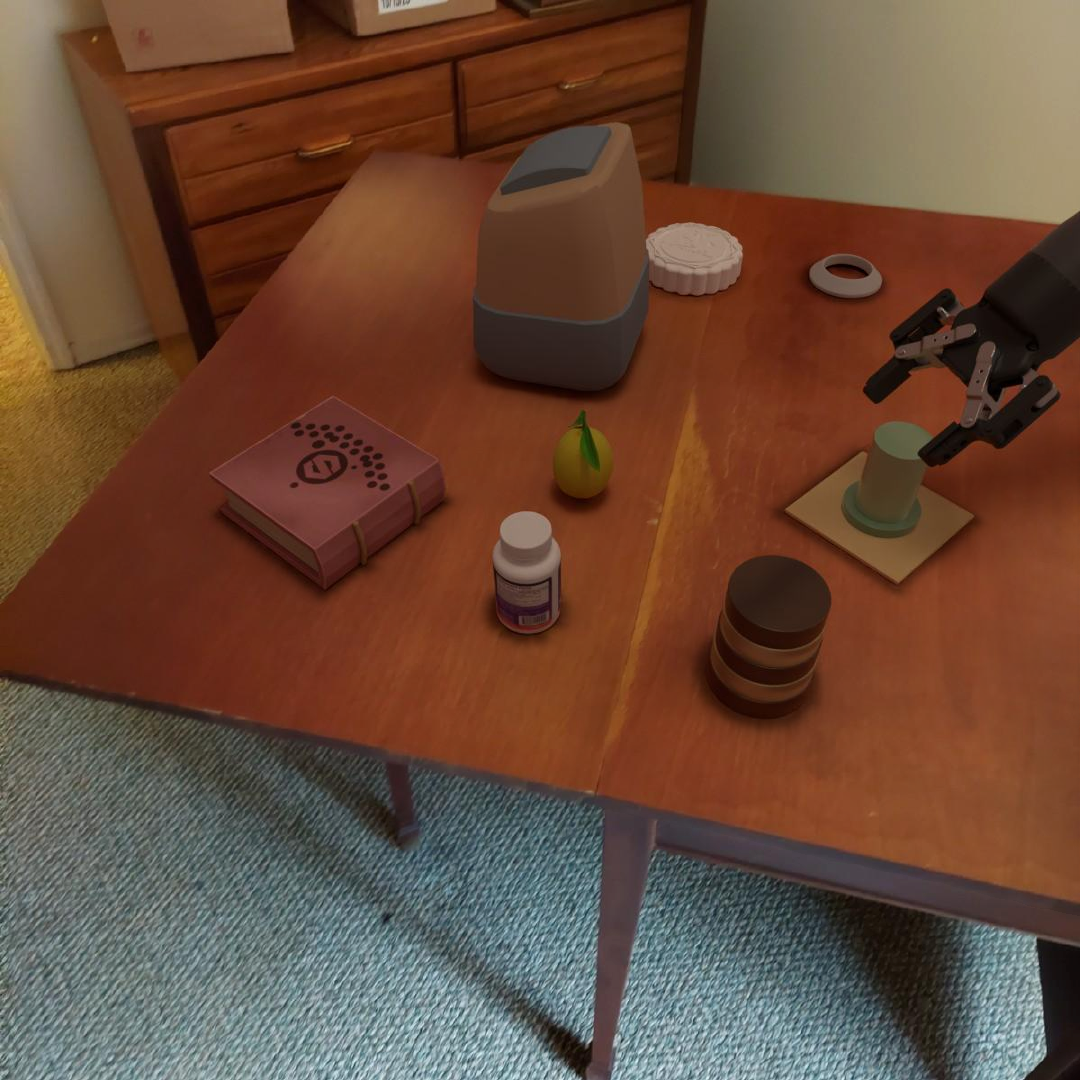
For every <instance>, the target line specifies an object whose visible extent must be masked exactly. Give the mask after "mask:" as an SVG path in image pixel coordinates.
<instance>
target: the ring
mask: <svg viewBox="0 0 1080 1080" xmlns="http://www.w3.org/2000/svg"><path fill="white" fill-rule="evenodd" d="M834 265H850V266H854V267H857V268H859V269H861V270H863V271H864V272H866V274H868V275H867V276H865V277H861V278H846V277H840V276H837V275H835V274H832V273H831V272H830V271H828V270H827V269H826V268H828V267H830V266H834ZM808 274H809V275H808V277H809V280H810V282H811V284H812V285H813V286H814V287H815V288H816V289H817V290H819V291H821V292H823V293H825V294H827V295H829V296H833V297H838V298H844V299H862V298H865V297H866V298H867V297H870V296H873V295H874V294H876V293H877V292H878V291H879V290H880V289H881V287H882V283H883V277H882V275H881V273H880V272H879V270H878V269H876V267H875V266H874V265H873V263H871V262H870V261H869V260H867V259H866V258H864V257H861V256H858V255H855V254H851V253H850V254H849V253H836V254H832V255H829V256H827V257H825V258H823V259H821V260H819V261H817V262H815V263H814V264H813V265H812V266H811V267H810V269H809V273H808Z"/></svg>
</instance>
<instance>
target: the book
mask: <svg viewBox="0 0 1080 1080" xmlns="http://www.w3.org/2000/svg"><path fill="white" fill-rule="evenodd" d="M208 475H209V477H210V480H212V481H213V482H214V483H216V484H217V485H219V486H220V487H221V488H223V489H224V492H225V495H226V497H227V500H228V501H227V503H225V504H224V505H222V506H221V507H220V509H221V512H222V514H223V515H225V516H226V517H227V518H229V519H230V520H231V521H233V522H234V523H236V524H237V525H238V526H240V527H241V528H242V529H244V530H245V531H246V532H248V533H249V534H250V535H252V536H253V537H254V538H256V539H257V540H258V541H260V542H261V543H262V544H263V545H265V546H266V547H268V548H269V549H270V550H272V551H273V552H275V554H277V555H278V556H280V557H281V558H283V559H284V560H285V561H286V562H287V563H289V564H290V565H292V566H293V567H295V568H296V569H297V570H299V572H301V573H303V574H304V575H305V576H306V577H308V578H309V579H310V580H312V581H313V582H314V583H316V584H317V585H319V586H320V587H321V588H322V589H324V590H327V589H328V588H329V587H330V586H333V584H335V583H336V582H337V581H338V580H340V579H341V578H343V577H344V576H346V575H347V574H348V573H349V572H351V571H352V570H353V569H354V568H356V567H358V565H362V566H366V564H368V558H369V557H371V556H372V555H373V554H374V553H375V552H377V551H378V550H380V549H381V548H383V547H384V546H385V545H386V544H388V543H389V542H390V541H391V540H393V539H395V537H397V536H398V535H400V534H401V533H402V532H404V531H405V530H406V529H407V528H409V527H410V526H412V525H413V524H414V525H416V526H418V525H419V524H420V522H421V518H422V517H424V516H425V515H427V514H428V513H429V512H430V511H431V510H433V509H434V508H436V507H437V506H438V505H440V503H442V502H444V500H445V495H446V490H447V488H446V478H445V473H444V470H443V467H442V464H441V461H440V459H439V458H437V457H436V456H434V455H433V454H431V453H429V452H427V451H425V450H424V449H422V448H421V447H419V446H418V445H415V444H414V443H412V442H411V441H409V440H408V439H406V438H404V437H403V436H401V435H400V434H397V433H396V432H394V431H393V430H391V429H389V428H388V427H386V426H384V425H383V424H381V423H380V422H378V421H376V420H374V419H373V418H371V417H370V416H367V415H366V414H365V413H363V412H361V411H360V410H359V409H356V408H354V407H353V406H352V405H350V404H348V403H346V402H344V400H342V399H339V398H338V397H336V396H335V395H332V396H330V397H329V398H327V399H325V400H323V401H322V402H321V403H318V404H317V405H315V406H314V407H312V408H311V409H309V410H308V411H306V412H304V413H302V414H301V415H299V416H297V417H296V418H294V419H293V420H291V421H289V422H288V423H286V424H284V425H283V426H282V427H280V428H278V429H277V430H275V431H274V432H272V433H271V434H269V435H267V436H265V437H264V438H262V439H261V440H259V441H258V442H255V443H254V444H253V445H251V446H250V447H248V448H246V449H245V450H243V451H241V452H239V453H238V454H237V455H235V456H233V457H232V458H230V459H229V460H227V461H225V462H224V463H222V464H221V465H218V466H217V467H216V468H214V469H212V470H211V471H209V472H208Z"/></svg>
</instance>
